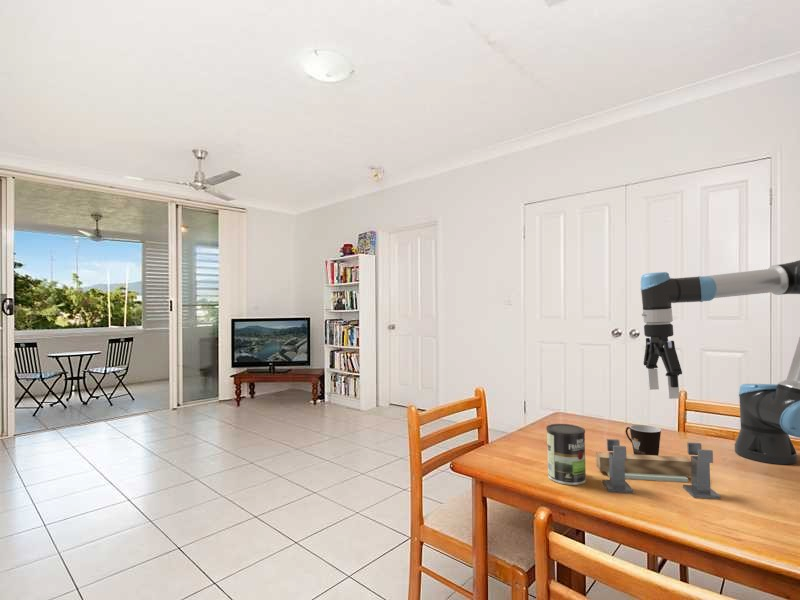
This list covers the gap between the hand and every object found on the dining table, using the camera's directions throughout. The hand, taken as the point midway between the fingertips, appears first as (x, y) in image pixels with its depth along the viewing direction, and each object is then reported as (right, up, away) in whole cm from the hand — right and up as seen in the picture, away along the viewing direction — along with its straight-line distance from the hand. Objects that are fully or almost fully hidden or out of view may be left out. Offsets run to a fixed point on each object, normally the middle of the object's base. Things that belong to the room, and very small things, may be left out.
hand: (663, 393), depth 127 cm
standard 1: (-21, -22, -14) cm, 34 cm away
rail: (-9, -21, -6) cm, 24 cm away
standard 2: (-2, -22, -18) cm, 29 cm away
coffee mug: (-2, -23, +7) cm, 24 cm away
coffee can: (-32, -23, -7) cm, 40 cm away
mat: (-9, -22, -6) cm, 25 cm away
